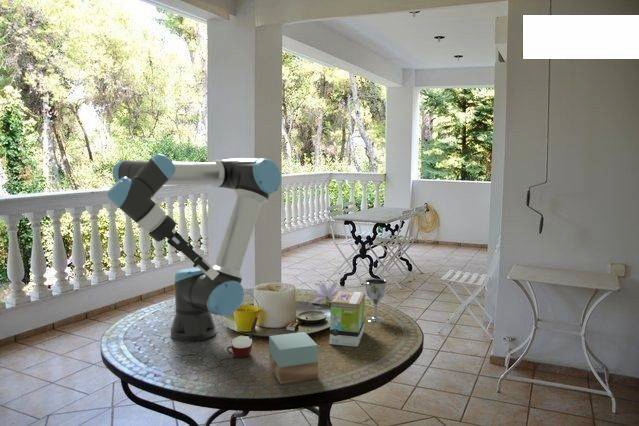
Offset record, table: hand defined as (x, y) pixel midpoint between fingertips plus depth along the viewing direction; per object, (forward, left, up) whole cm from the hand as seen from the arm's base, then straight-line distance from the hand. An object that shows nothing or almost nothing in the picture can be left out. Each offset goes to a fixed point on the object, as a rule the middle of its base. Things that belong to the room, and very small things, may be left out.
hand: (210, 271), depth 151 cm
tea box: (-3, +47, -28) cm, 54 cm away
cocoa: (0, +10, -28) cm, 29 cm away
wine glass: (-17, +65, -28) cm, 72 cm away
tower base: (+17, +21, -28) cm, 39 cm away
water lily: (-41, +55, -28) cm, 74 cm away
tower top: (+17, +21, -23) cm, 35 cm away
